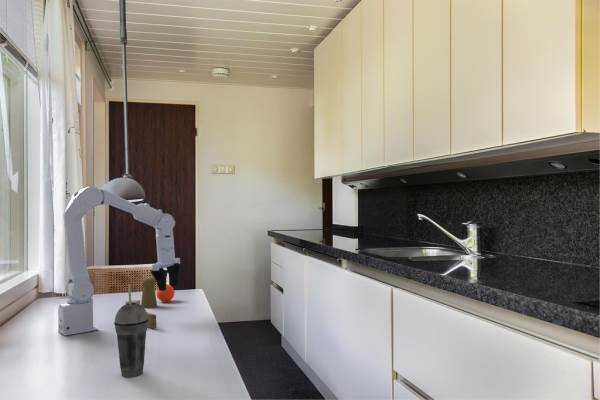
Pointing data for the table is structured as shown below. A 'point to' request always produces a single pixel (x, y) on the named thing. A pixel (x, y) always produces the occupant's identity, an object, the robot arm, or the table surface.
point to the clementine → (166, 294)
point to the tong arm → (151, 320)
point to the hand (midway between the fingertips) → (168, 288)
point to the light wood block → (134, 301)
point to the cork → (148, 293)
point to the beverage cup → (131, 337)
